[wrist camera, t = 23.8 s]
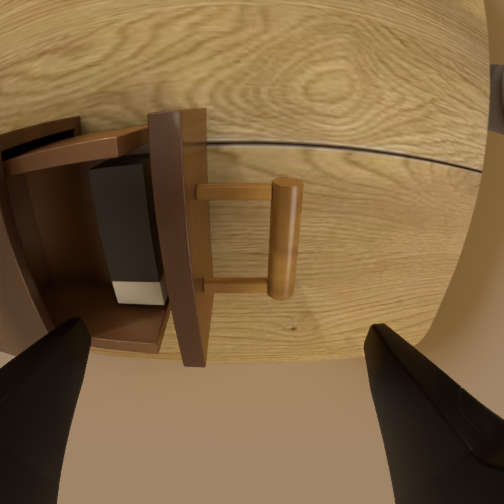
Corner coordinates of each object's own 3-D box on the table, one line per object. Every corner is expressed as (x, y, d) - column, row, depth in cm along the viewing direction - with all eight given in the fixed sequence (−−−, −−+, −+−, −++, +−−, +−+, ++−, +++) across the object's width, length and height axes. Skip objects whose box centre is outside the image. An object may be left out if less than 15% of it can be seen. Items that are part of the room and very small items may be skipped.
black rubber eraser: (160, 152, 14) (142, 163, 12) (174, 276, 18) (164, 305, 16) (112, 157, 14) (87, 169, 12) (132, 275, 18) (118, 303, 16)
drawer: (291, 108, 14) (323, 111, 9) (280, 292, 20) (293, 366, 15) (23, 139, 14) (-44, 166, 8) (59, 287, 20) (20, 342, 14)
